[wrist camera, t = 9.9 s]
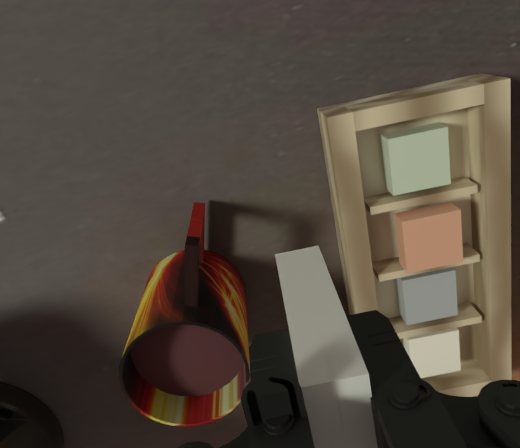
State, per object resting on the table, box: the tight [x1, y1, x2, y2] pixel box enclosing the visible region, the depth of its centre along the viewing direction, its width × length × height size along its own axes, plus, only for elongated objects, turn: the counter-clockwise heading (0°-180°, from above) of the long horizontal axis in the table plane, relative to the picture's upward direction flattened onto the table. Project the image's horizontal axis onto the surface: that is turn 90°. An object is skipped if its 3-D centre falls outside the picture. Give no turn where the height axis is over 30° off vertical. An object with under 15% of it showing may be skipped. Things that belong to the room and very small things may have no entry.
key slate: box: [396, 267, 458, 325], centre depth 45 cm, size 5×5×2 cm
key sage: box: [381, 122, 451, 196], centre depth 40 cm, size 5×5×2 cm
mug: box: [119, 202, 250, 427], centre depth 40 cm, size 10×14×12 cm
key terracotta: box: [394, 202, 463, 273], centre depth 41 cm, size 5×5×2 cm
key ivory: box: [403, 328, 461, 378], centre depth 47 cm, size 5×5×2 cm
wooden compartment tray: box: [317, 73, 512, 397], centre depth 44 cm, size 14×30×4 cm, turn 12°
